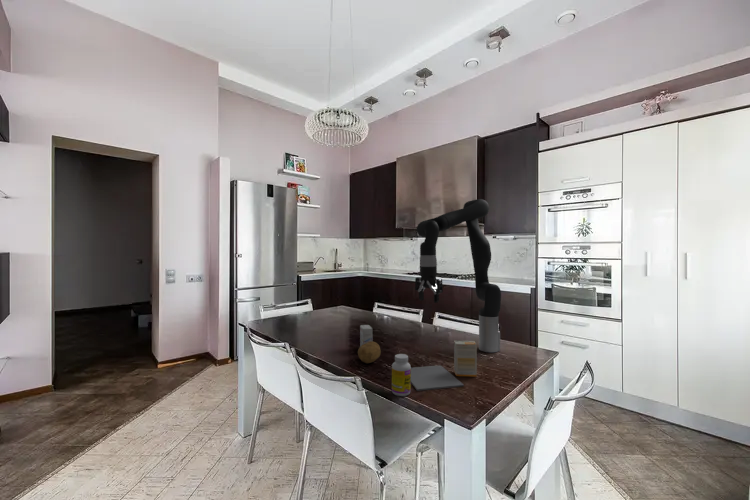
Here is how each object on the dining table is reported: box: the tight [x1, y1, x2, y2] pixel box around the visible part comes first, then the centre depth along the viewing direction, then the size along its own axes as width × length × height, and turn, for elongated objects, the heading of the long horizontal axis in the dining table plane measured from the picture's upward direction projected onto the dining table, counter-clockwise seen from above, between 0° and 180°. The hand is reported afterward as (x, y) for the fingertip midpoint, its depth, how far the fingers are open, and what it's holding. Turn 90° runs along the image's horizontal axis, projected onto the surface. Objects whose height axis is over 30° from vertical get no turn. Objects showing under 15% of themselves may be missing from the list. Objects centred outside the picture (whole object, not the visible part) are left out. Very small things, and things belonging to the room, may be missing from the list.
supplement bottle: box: [391, 353, 412, 397], centre depth 112 cm, size 7×7×13 cm
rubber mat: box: [411, 365, 465, 392], centre depth 125 cm, size 18×20×1 cm
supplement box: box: [453, 340, 478, 378], centre depth 129 cm, size 8×5×13 cm, turn 84°
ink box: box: [359, 324, 374, 348], centre depth 158 cm, size 9×5×12 cm, turn 13°
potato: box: [357, 341, 382, 364], centre depth 142 cm, size 10×14×8 cm
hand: (428, 301), depth 144 cm, fingers open, 8 cm apart
